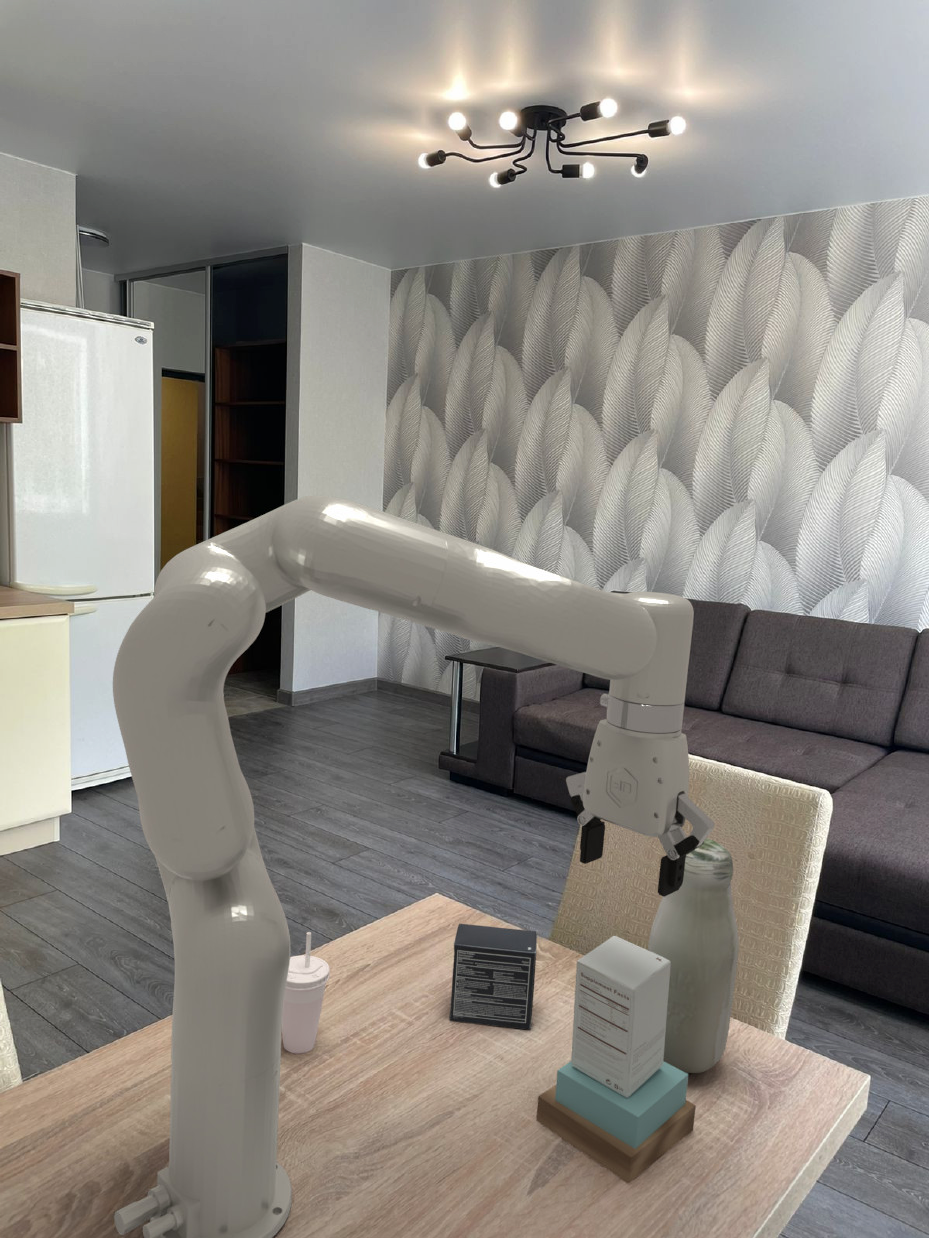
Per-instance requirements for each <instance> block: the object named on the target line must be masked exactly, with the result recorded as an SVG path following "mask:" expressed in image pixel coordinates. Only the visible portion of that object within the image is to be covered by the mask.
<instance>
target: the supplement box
mask: <svg viewBox="0 0 929 1238" xmlns="http://www.w3.org/2000/svg"><path fill="white" fill-rule="evenodd" d="M670 966H671V961H669V960H667V959H665V958H663V957H661V956H659V955H657V954H655V953H653V952H650V951H648V949H646V948H643V947H641V946H639V945H637V944H634V943H632V942H630V941H627V940H625V939H623V938H621V937H619V936H616V935H613V936H611V937H610V938H608V939H607V940H605V941H603V943H601V944H600V945H598V946H597V947H595V948H594V949H593V950H590V951H589V952H588V953H586V954H584V955H583V956H582V957H580V958H578V959H577V960H576V970H575V971H576V973H575V988H574V1002H573V1003H574V1005H573V1020H572V1021H573V1023H572V1024H573V1025H572V1041H571V1060H570V1061H571V1065H572V1066H573V1067H575V1068H577V1069H578V1070H580V1071H581V1072H583V1073H585V1074H586V1075H588V1076H590V1077H592V1078H593V1079H595V1080H597V1081H598V1082H600V1083H602V1084H603V1085H605V1086H607V1087H608V1088H610V1089H612V1090H614V1091H615V1092H617V1093H619V1094H621V1095H622V1096H624V1097H627V1098H628V1097H629V1096H630V1095H631V1094H632V1093H633V1092H634V1091H636V1090H637V1089H638V1088H639V1087H640V1086H641V1085H642V1084H643V1083H644V1082H645V1081H646V1080H647V1079H648V1078H649V1077H651V1076H652V1075H653V1074H654V1073H655V1072H656V1071H657V1070H658V1069H659V1068H660V1067H661V1066H662V1065H663V1058H664V1046H665V1032H666V1018H667V1005H668V992H669V979H670Z"/></svg>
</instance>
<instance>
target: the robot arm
mask: <svg viewBox="0 0 929 1238" xmlns="http://www.w3.org/2000/svg"><path fill="white" fill-rule="evenodd" d="M310 591H312V592H314V593H316V594H319V595H322V596H325V597H327V598H331V599H334V600H337V601H340V602H343V603H347V604H351V605H354V606H356V607H359V608H360V607H361V608H364V609H367V610H370V611H371V610H372V611H375V612H379V613H382V614H385V615H388V616H389V615H390V616H391V617H392V616H393V617H396V618H399V619H402V620H405V621H409V622H412V623H415V624H417V625H421V626H424V627H427V628H431V629H434V630H438V631H440V632H444V633H446V634H447V633H448V634H450V635H454V636H457V637H459V638H462V639H466V640H469V641H471V642H476V643H480V644H481V643H482V644H486V645H490V646H494V647H498V648H502V649H506V650H510V651H512V652H517V653H520V654H523V655H525V656H529V657H532V658H535V659H538V660H541V661H545V662H548V663H551V664H554V665H558V666H561V667H564V668H568V669H571V670H574V671H577V672H581V673H584V674H588V675H591V676H593V677H596V678H600V679H604V680H610V681H609V691H608V693H602V695H601V696H600V699H599V704H600V706H602V707H605V708H606V719H605V718H604V719H601V720H600V721H598V724H597V727H596V731H595V733H594V736H593V740H592V744H591V748H590V752H589V756H588V761H587V766H586V771H583V772H581V773H576V774H573V775H569V776H567V777H566V778H565V782H566V787H567V789H568V792H569V796H570V797H571V798H570V803H571V806H572V807H573V809H574V811H575V813H576V814H577V823H578V824H579V825H580V826H581V830H580V831H581V832H580V834H581V835H580V844H579V849H580V853H579V862H580V863H581V864H584V865H585V864H589V863H591V862H593V861H598V860H599V859H602V857H603V854H604V852H603V851H604V844H605V833H606V832H605V831H606V825H605V823H606V822H607V823H610V824H612V825H616V826H618V827H621V828H624V829H627V830H629V831H631V832H632V831H633V832H635V833H638V834H641V835H643V836H647V837H650V838H658V839H659V840H658V841H660V844H661V846H662V848H663V849H664V852H665V854H666V855H664V856H662V857H661V859H660V862H659V863H660V864H659V873H658V885H657V893H658V895H659V896H662V898H663V897H665V896H667V895H669V894H671V893H673V892H675V891H678V890H679V888H680V887H681V886H682V883H683V878H684V869H685V860H686V855H687V854H690V853H691V852H692V851H693V850H695V849H697V848H698V847H700V846H701V845H703V844H704V840H705V839H708V837H709V835H711V833H712V831H714V829H715V822H714V820H712V819H711V818H710V817H709V816H708V815H707V814H706V813H705V812H704V811H703V810H702V809H701V808H700V807H699V806H698V805H697V804H695V802H693V801H692V800H691V799H690V798H689V794H690V793H689V792H690V791H689V790H690V762H689V761H690V759H689V757H690V756H689V750H688V749H689V747H688V740H687V735H686V734H685V733H683V732H682V729H683V717H684V710H685V701H686V692H687V691H686V690H687V689H686V688H687V681H688V670H689V662H690V655H691V654H690V653H691V645H692V644H691V643H692V637H693V636H692V634H693V627H694V616H695V614H694V607H693V604H692V603H691V601H690V600H689V599H687V598H685V597H683V596H680V595H677V594H671V593H666V592H657V591H656V592H655V591H653V592H652V591H632V592H628V593H622V592H621V593H619V592H611V591H605V590H602V589H601V588H600V589H599V588H597V587H594V586H592V585H588V584H585V583H582V582H579V581H576V580H574V579H571V578H567V577H565V576H561V575H558V574H555V573H553V572H550V571H547V570H545V569H541V568H538V567H536V566H533V565H531V564H527V563H526V562H524V561H523V562H522V561H519V560H518V559H515V558H513V557H511V556H508V555H507V554H504V553H502V552H499V551H498V550H494V549H492V548H490V547H487V546H483V545H481V544H478V543H475V542H472V541H470V540H468V539H464V538H460V537H458V536H455V535H452V534H449V533H445V532H443V531H440V530H438V529H434V528H431V527H428V526H426V525H423V524H420V523H417V522H414V521H411V520H408V519H405V518H402V517H399V516H396V515H393V514H390V513H389V512H385V511H381V510H378V509H376V508H373V507H370V506H368V505H364V504H361V503H358V502H355V501H353V500H349V499H345V498H341V497H336V496H329V495H328V496H327V495H319V494H315V495H314V494H313V495H308V496H303V497H300V498H298V499H294V500H292V501H290V502H287V503H285V504H283V505H281V506H279V507H277V508H275V509H273V510H271V511H269V512H266V513H265V514H263V515H262V514H261V515H260V516H258V517H256V518H254V519H251V520H249V521H247V522H245V523H242V524H240V525H238V526H235V527H234V528H231V529H229V530H227V531H224V532H222V533H220V534H218V535H216V536H212V537H211V538H208V539H207V540H204V541H202V542H200V543H198V544H195V545H193V546H191V547H189V548H186V549H184V550H182V551H181V552H179V553H177V554H176V555H175V556H173V557H172V558H171V559H170V560H168V562H167V563H166V564H165V565H164V566H163V568H162V569H161V570H160V572H159V574H158V576H157V578H156V581H155V586H154V593H153V598H151V600H150V601H149V602H148V603H147V604H146V605H145V606H144V608H143V609H142V610H141V611H140V612H139V614H137V616H136V617H135V618H134V620H133V621H132V622H131V624H130V626H129V628H128V629H127V632H126V634H125V635H124V636H123V637H124V638H123V639H122V641H121V644H120V646H119V648H118V652H117V655H116V657H115V662H114V665H113V666H114V667H113V673H112V694H113V695H112V696H113V697H112V698H113V704H114V709H115V715H116V718H117V722H118V727H119V730H120V734H121V738H122V741H123V742H122V743H123V746H124V749H125V754H126V755H125V756H126V759H127V764H128V767H129V771H130V775H131V779H132V782H133V786H134V789H135V792H136V797H137V801H138V802H137V803H138V808H139V811H138V812H139V818H140V824H141V829H142V832H143V835H144V838H145V841H146V843H147V845H148V847H149V848H150V850H151V853H152V854H153V855H154V858H155V861H156V865H157V867H158V872H159V874H160V878H161V882H162V885H163V889H164V892H165V895H166V900H167V903H168V904H167V905H168V910H169V917H170V927H171V932H172V933H171V934H172V941H173V955H174V956H173V957H174V958H173V959H174V983H173V984H174V987H173V988H174V989H173V998H172V999H173V1000H172V1001H173V1002H172V1018H171V1020H172V1021H171V1039H170V1040H171V1043H170V1045H171V1050H170V1051H171V1052H170V1061H171V1064H170V1065H171V1069H170V1070H171V1071H170V1101H169V1103H170V1108H169V1109H170V1111H169V1112H170V1113H169V1143H168V1144H169V1146H168V1147H169V1151H168V1152H169V1153H168V1166H167V1167H164V1168H162V1169H160V1170H158V1171H157V1179H156V1180H157V1181H156V1182H157V1185H156V1186H155V1187H152V1188H151V1189H149V1190H148V1191H147V1196H146V1197H144V1198H142V1199H140V1200H138V1201H133V1202H131V1203H130V1204H127V1205H126V1206H124V1207H122V1208H120V1209H118V1210H116V1211H115V1213H114V1215H113V1216H114V1217H113V1218H114V1226H115V1228H116V1231H117V1232H118V1234H119V1235H121V1236H124V1235H125V1234H127V1233H130V1232H131V1231H133V1230H135V1229H137V1228H138V1227H140V1226H142V1225H143V1224H144V1222H147V1221H149V1222H147V1223H146V1224H144V1225H143V1226H142V1233H143V1238H273V1237H275V1236H276V1235H277V1233H278V1232H279V1231H280V1230H281V1228H282V1227H283V1226H284V1224H285V1223H286V1220H288V1217H289V1215H290V1210H291V1207H292V1199H293V1198H292V1197H293V1189H292V1181H291V1179H290V1177H289V1175H288V1173H287V1171H286V1170H285V1169H284V1167H283V1166H282V1165H281V1164H280V1163H279V1162H278V1161H277V1153H278V1130H279V1129H278V1128H279V1127H278V1126H279V1124H278V1123H279V1107H280V1106H279V1104H280V1085H281V1083H280V1080H281V1061H282V1059H281V1058H282V1055H281V1054H282V1014H283V1002H284V994H285V987H286V982H287V976H288V970H289V963H290V957H291V936H290V931H289V924H288V921H287V917H286V914H285V911H284V909H283V905H282V903H281V901H280V898H279V896H278V894H277V891H276V888H275V887H274V885H273V883H272V881H271V878H270V876H269V872H268V870H267V868H266V864H265V861H264V858H263V855H262V850H261V847H260V844H259V839H258V836H257V832H256V828H255V807H254V805H255V804H254V802H253V797H252V794H251V791H250V788H249V785H248V783H247V781H246V778H245V776H244V774H243V772H242V770H241V766H240V763H239V758H238V756H237V755H238V754H237V752H236V749H235V745H234V741H233V737H232V732H231V731H232V730H231V726H230V721H229V716H228V712H227V708H226V703H225V697H224V687H225V682H226V678H227V675H228V673H229V671H230V669H231V667H232V666H233V664H234V663H235V662H236V661H237V659H238V658H239V657H241V655H242V654H243V653H245V651H247V650H248V649H249V648H250V646H251V645H252V644H254V642H255V641H256V640H257V637H258V636H259V634H260V632H261V630H262V628H263V626H264V623H265V618H266V613H269V612H270V611H272V610H274V609H277V608H279V607H280V606H283V605H284V604H286V603H288V602H291V601H292V600H295V599H297V598H298V597H301V596H302V595H304V594H306V593H308V592H310ZM686 820H687V821H688V822H689V823H690V824H691V826H692V830H691V831H690V834H689V835H688V836H687V834H686V833H685V831H684V829H683V827H684V826H685V823H686Z"/></svg>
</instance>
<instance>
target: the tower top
mask: <svg viewBox="0 0 929 1238" xmlns="http://www.w3.org/2000/svg"><path fill="white" fill-rule="evenodd" d="M556 1072H557V1073H556V1081H555V1082H556V1084H555V1085H556V1094H555V1101H557V1102H559V1103H560V1104H562V1105H564V1106H565V1107H567V1108H568V1109H570V1110H572V1111H573V1112H575V1113H577V1114H578V1115H580V1116H582V1117H583V1118H585V1119H586V1120H588V1121H590V1122H591V1123H593V1124H595V1125H596V1126H598V1127H600V1128H601V1129H603V1130H605V1131H606V1132H608V1133H609V1134H611V1135H613V1136H614V1137H616V1138H618V1139H619V1140H621V1141H623V1142H624V1143H626V1144H628V1145H629V1146H631V1147H632V1148H634V1149H636V1148H637V1147H638V1146H639V1145H641V1144H642V1143H643V1142H644V1141H645V1140H646V1139H647V1138H648V1137H649V1136H650V1135H652V1134H653V1133H654V1132H655V1131H656V1130H657V1129H658V1128H659V1127H660V1126H662V1125H663V1124H664V1123H665V1122H666V1121H667V1120H668V1119H669V1118H670V1117H672V1116H673V1115H674V1114H675V1113H676V1112H677V1111H678V1110H679V1109H680V1108H682V1107H683V1106H684V1105H685V1102H686V1100H687V1090H688V1081H689V1073H686V1072H683V1071H681V1070H679V1069H677V1068H675V1067H674V1066H672V1065H670V1064H668V1063H666V1062H664V1061H663V1065H662V1066H661V1067H660V1068H659V1069H658V1070H657V1071H656V1072H655V1073H654V1074H653V1075H652V1076H651V1077H649V1078H648V1079H647V1080H646V1081H645V1082H644V1083H643V1084H642V1085H641V1086H640V1087H639V1088H638V1089H637V1090H636V1091H634V1092H633V1093H632V1094H631V1095H630V1096H629V1097H628V1098H627V1097H624V1096H622V1095H621V1094H619V1093H617V1092H615V1091H614V1090H612V1089H610V1088H608V1087H607V1086H605V1085H603V1084H602V1083H600V1082H598V1081H597V1080H595V1079H593V1078H592V1077H590V1076H588V1075H586V1074H585V1073H583V1072H581V1071H580V1070H578V1069H577V1068H575V1067H573V1066H572V1065H571V1060H570V1061H569V1062H568V1063H566V1064H565V1065H563V1066H562V1067H560V1068H558V1070H557V1071H556Z"/></svg>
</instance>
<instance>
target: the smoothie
mask: <svg viewBox="0 0 929 1238" xmlns="http://www.w3.org/2000/svg"><path fill="white" fill-rule="evenodd" d="M305 935H306V939H305V955H304V954H302V955H293V956H290V963H289V970H288V976H287V982H286V987H285V994H284V1002H283V1014H282V1031H281V1035H282V1041H283V1048H284V1049H285V1050H286V1051H287V1052H289V1053H292V1054H305V1053H308V1052H310V1051H311V1050H313V1049H314V1047H315V1046H316V1040H317V1033H318V1029H319V1023H320V1018H321V1012H322V1007H323V1006H322V1005H323V1001H324V996H325V991H326V990H325V989H326V986H327V985H326V984H327V983H328V981H329V979H330V976H331V974H330V966H329V964H328V962H327V961H325V960H324V959H323V958H320V957H317V956H313V955H311V946H312V932H310V931H308V932H306V934H305Z"/></svg>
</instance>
